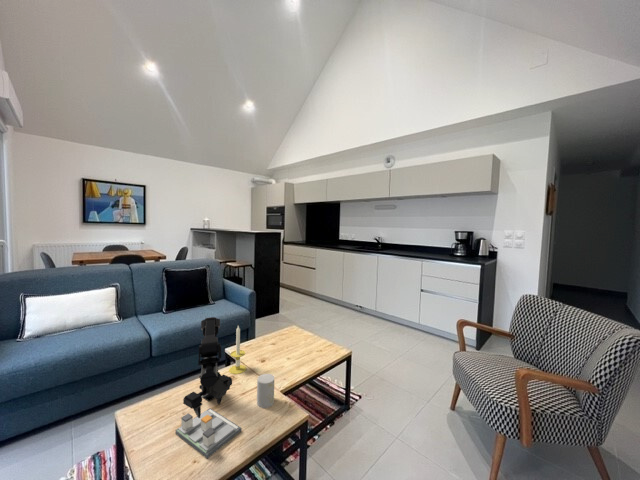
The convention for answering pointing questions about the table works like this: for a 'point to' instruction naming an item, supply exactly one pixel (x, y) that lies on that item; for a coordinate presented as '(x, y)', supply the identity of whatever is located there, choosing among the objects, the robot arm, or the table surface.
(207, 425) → the toggle mid
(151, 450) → the table surface
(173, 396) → the table surface
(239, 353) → the candle
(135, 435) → the table surface
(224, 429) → the panel
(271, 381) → the grey cylinder
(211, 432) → the toggle right
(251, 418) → the table surface
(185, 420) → the toggle left
